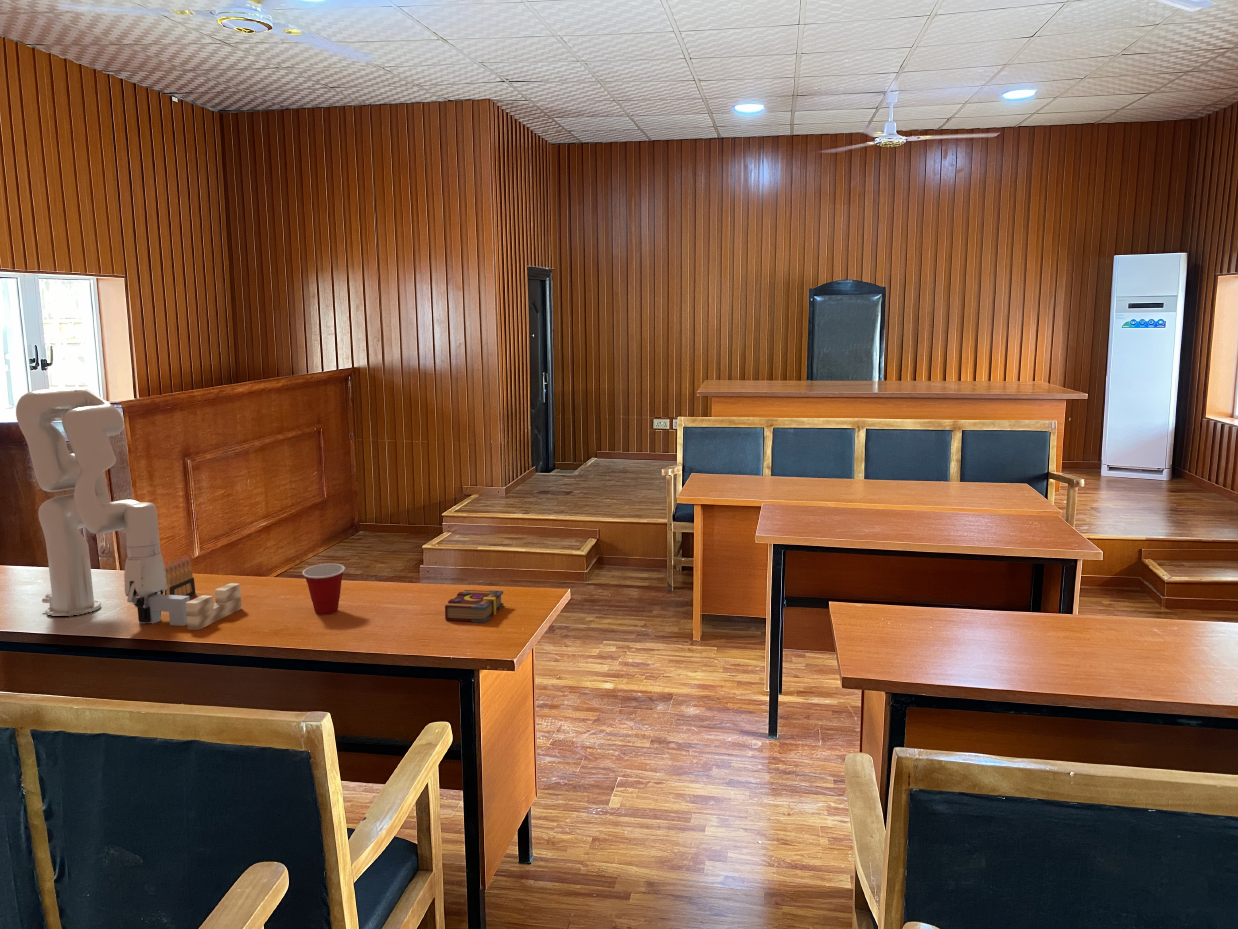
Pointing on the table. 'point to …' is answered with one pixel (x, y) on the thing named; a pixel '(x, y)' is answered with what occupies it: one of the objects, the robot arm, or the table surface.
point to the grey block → (168, 608)
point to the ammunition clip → (180, 578)
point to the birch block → (213, 606)
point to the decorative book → (473, 606)
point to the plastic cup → (324, 586)
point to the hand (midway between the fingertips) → (150, 619)
